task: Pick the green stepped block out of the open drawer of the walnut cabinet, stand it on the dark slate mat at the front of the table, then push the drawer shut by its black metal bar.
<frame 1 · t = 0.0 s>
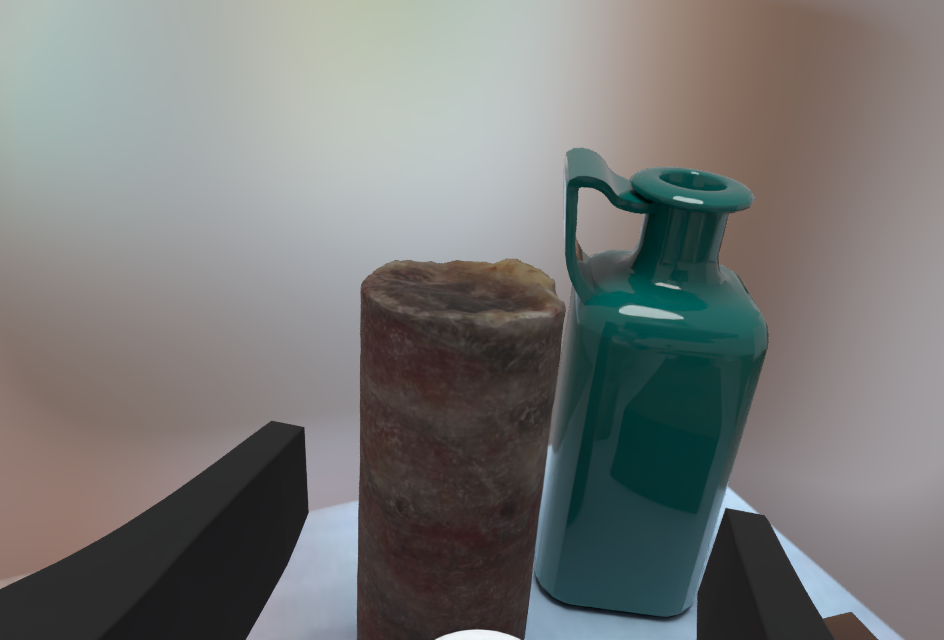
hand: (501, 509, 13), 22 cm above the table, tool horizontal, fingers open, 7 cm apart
pitcher: (597, 558, 44), on the table
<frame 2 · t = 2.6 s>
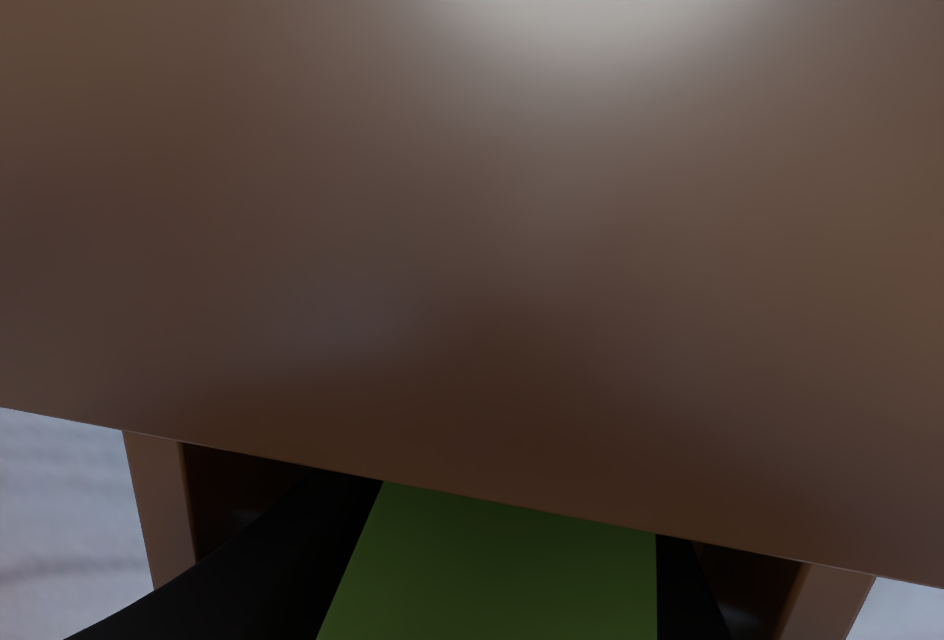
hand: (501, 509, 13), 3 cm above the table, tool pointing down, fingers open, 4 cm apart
green stepped block: (529, 474, 14), point 2 cm above the table, touching drawer
drawer: (485, 567, 13), point 4 cm above the table, slide at 7.8 cm, touching gripper, green stepped block
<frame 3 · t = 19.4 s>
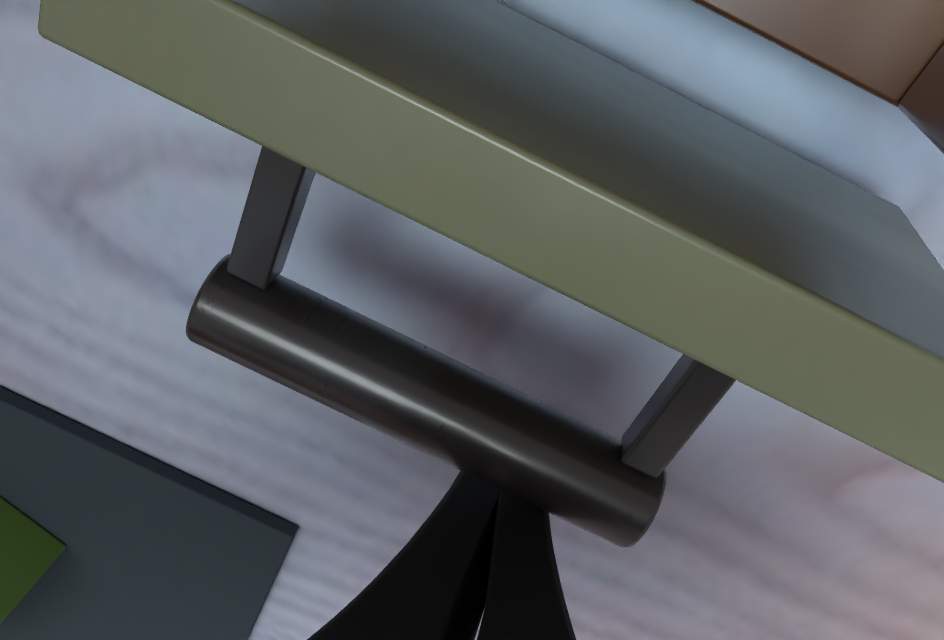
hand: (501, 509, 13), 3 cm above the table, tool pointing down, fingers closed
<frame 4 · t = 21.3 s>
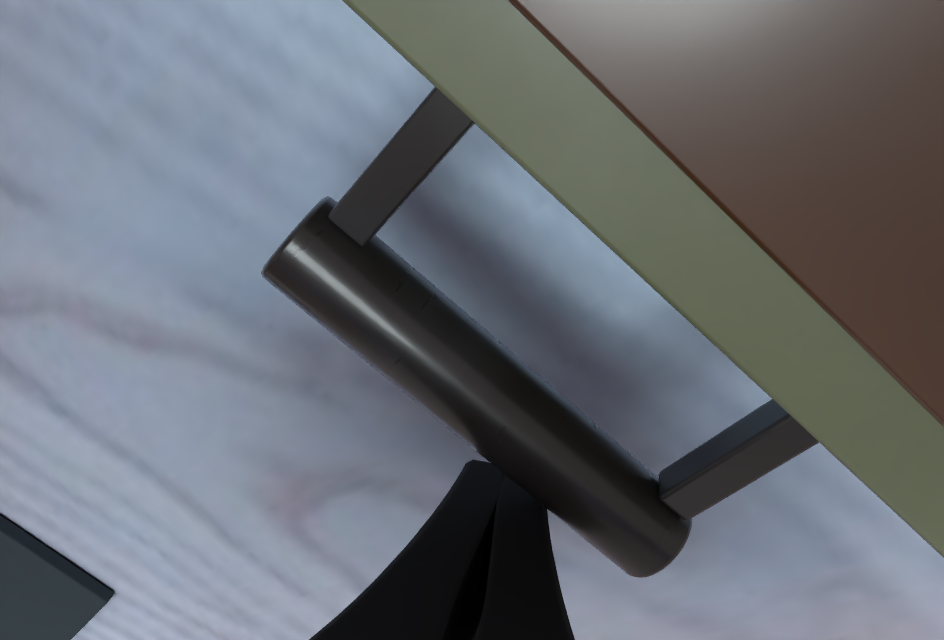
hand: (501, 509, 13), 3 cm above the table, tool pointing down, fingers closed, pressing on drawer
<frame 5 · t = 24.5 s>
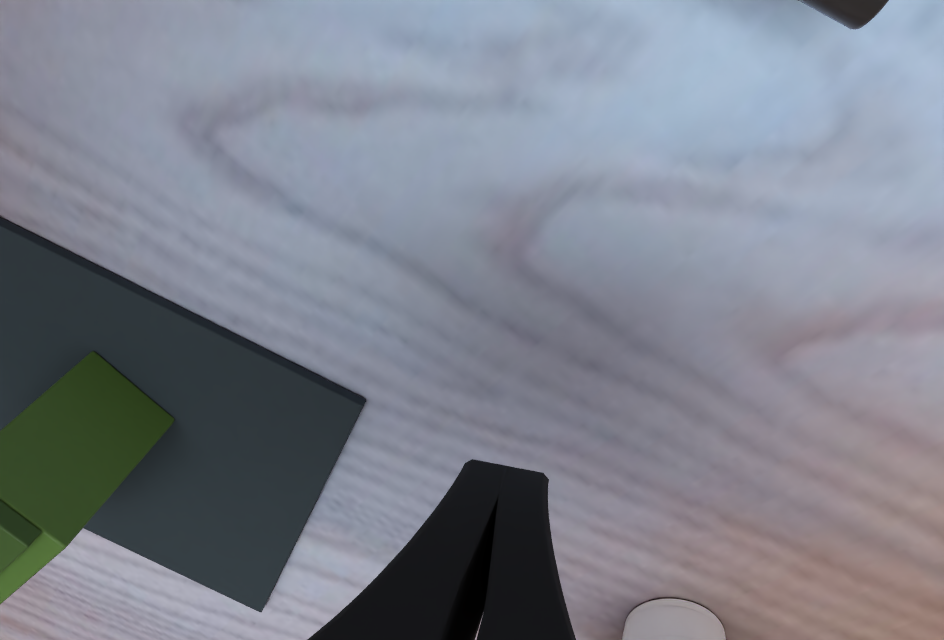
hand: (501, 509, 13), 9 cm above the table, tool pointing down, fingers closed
green stepped block: (100, 419, 27), resting on mat
mat: (106, 414, 28), on the table
cup: (673, 627, 28), on the table
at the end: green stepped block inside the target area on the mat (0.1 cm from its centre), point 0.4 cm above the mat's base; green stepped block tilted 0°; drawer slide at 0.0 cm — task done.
